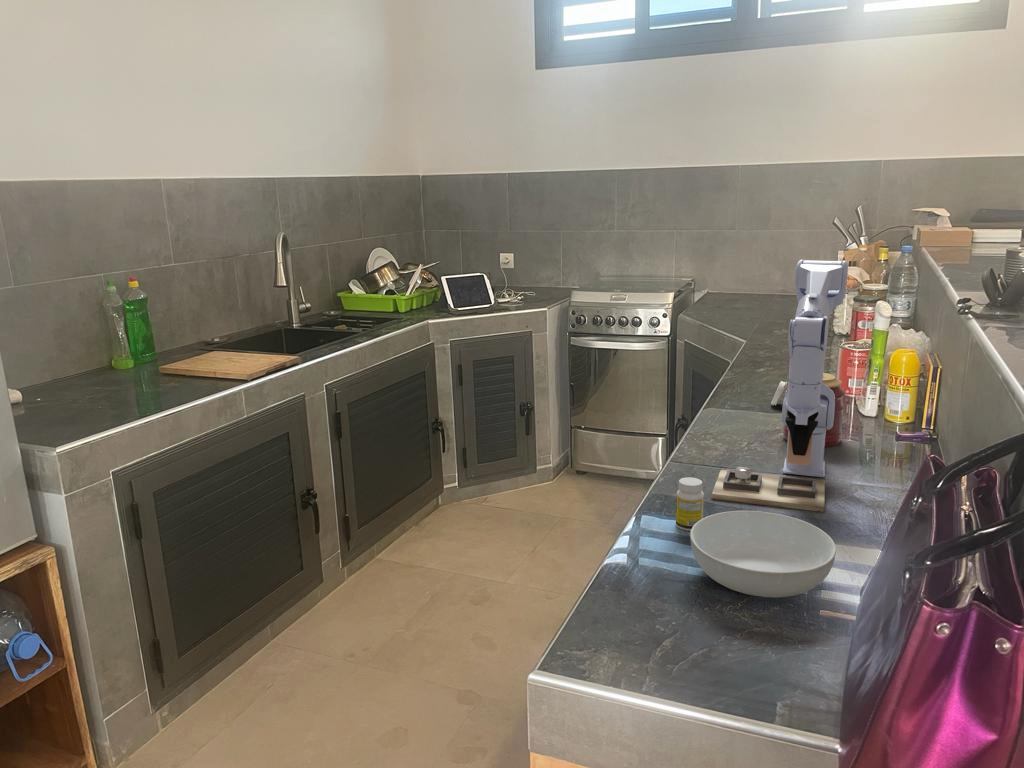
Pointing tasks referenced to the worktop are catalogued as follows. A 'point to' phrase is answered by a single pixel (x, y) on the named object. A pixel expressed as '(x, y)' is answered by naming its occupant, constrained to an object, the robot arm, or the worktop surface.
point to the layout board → (772, 491)
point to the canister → (835, 432)
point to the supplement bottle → (689, 503)
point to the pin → (743, 475)
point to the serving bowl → (762, 552)
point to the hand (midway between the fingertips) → (799, 451)
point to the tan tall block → (797, 458)
